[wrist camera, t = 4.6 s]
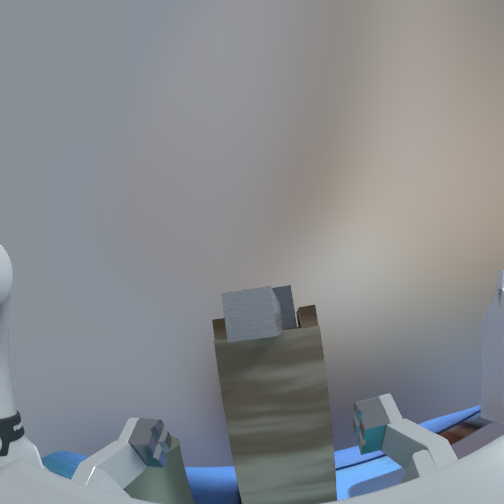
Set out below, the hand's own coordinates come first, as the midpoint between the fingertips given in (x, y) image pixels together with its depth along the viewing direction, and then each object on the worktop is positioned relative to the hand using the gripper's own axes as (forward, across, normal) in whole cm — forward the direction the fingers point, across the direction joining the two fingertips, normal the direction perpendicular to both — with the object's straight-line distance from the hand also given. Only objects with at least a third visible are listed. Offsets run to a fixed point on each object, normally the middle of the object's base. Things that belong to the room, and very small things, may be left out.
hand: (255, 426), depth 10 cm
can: (+7, -18, -29) cm, 35 cm away
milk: (+12, +41, -32) cm, 54 cm away
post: (+8, 0, -29) cm, 30 cm away
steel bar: (+16, 0, -5) cm, 17 cm away
